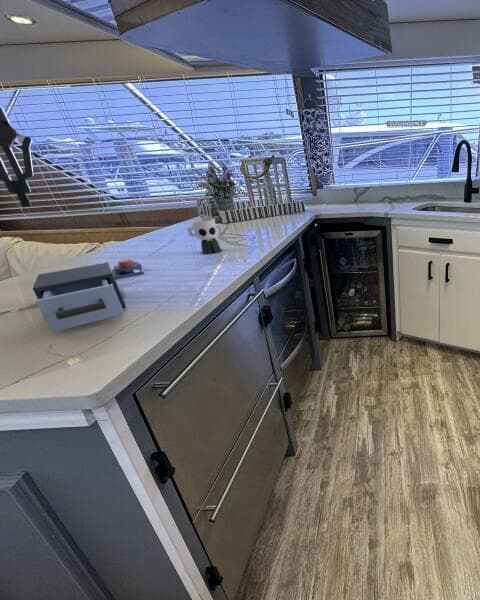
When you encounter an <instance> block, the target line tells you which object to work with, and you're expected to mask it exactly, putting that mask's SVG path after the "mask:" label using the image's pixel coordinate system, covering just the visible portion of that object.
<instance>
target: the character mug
mask: <svg viewBox="0 0 480 600" xmlns="http://www.w3.org/2000/svg"><path fill="white" fill-rule="evenodd" d="M191 224H192V226H189V227H187V232H188V235H189V237H190V238H191V237H195V238H196V239H197V240H201V242H200V246H201V252H202V254H203V255H213V254H217V253H220V252H222V249H221V246H220V244H219V242H218V240H217V239H216V238H218V237H219V234H220V233H223V232H224V228H223V225H222V223H221V222H220V223H216V221H215V219H214V218H201V219H195V220H192V221H191ZM217 227H219V229H218V228H217ZM192 231H194V232H192Z"/></svg>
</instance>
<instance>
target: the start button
mask: <svg viewBox="0 0 480 600" xmlns="http://www.w3.org/2000/svg"><path fill="white" fill-rule="evenodd" d="M134 262H135V261H134V259H133V258H129V259H121V260H119V261H117V265H119V267H127V266H132V265H135V264H134Z"/></svg>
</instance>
